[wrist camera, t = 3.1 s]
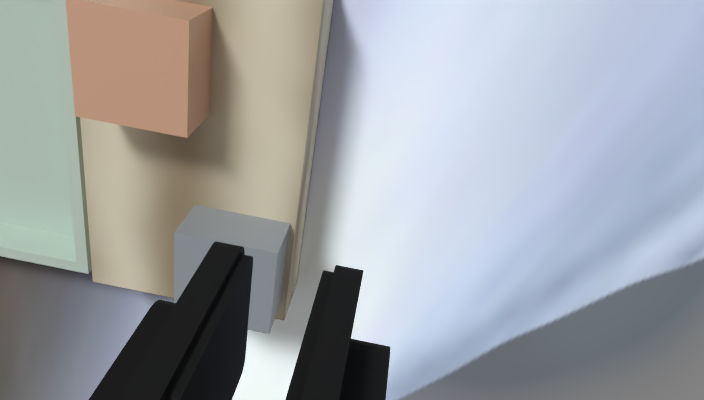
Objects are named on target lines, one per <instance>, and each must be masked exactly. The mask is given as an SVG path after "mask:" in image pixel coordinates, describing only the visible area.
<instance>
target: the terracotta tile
mask: <svg viewBox="0 0 704 400" xmlns="http://www.w3.org/2000/svg"><path fill="white" fill-rule="evenodd" d="M212 11H213V7H208V6H203V5H197V4H192V3H186V2H181V1H175V0H66V12H67V24H68V36H69V49H70V61H71V73H72V85H73V97H74V110H75V116H76V117H81V118H86V119H92V120H97V121H102V122H107V123H112V124H118V125H123V126H128V127H133V128H138V129H144V130H149V131H154V132H159V133H164V134H170V135H175V136H180V137H185V138H188V137H189V135H190V134H191V133H192V132H193V131H194V130H195V129H196V128H197V127H198V126H199V125H200V124H201V123H202V122H203V121H204V120H205V119H206V118H207V117H208V116H209V96H210V68H211V40H212Z"/></svg>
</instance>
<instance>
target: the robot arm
mask: <svg viewBox="0 0 704 400" xmlns="http://www.w3.org/2000/svg"><path fill="white" fill-rule="evenodd" d="M252 270H253V257H252V256H249V255H245V250H244V247H242V246H237V245H232V244H227V243H222V242H217V241H216V242H214V243H213V244H212V246H211V247H210V249H209V251H208V252H207V254H206V255H205V257H204V259H203V260H202V262H201V264H200V265H199V267H198V268H197V270H196V272H195V273H194V275H193V276H192V278H191V280H190V281H189V283H188V285H187V286H186V288H185V289H184V291H183V293H182V294H181V296H180V298H179V299H178V301H177V302H176V303H172V302H167V301H162V300H158V301H156V302H155V303H154V304H153V305H152V306H151V308H150V309H149V311H148V312H147V314H146V315H145V317H144V318H143V320H142V321H141V323H140V324H139V326H138V327H137V329H136V330H135V332H134V333H133V335H132V336H131V337H130V339H129V340H128V342H127V343H126V345H125V346H124V348H123V349H122V351H121V352H120V354H119V355H118V357H117V358H116V360H115V361H114V363H113V364H112V366H111V367H110V369H109V370H108V372H107V373H106V375H105V376H104V378H103V379H102V381H101V382H100V384H99V385H98V387H97V388H96V390H95V391H94V393H93V394H92V396H91V397H90V399H89V400H232V397H233V395H234V392H235V390H236V387H237V385H238V382H239V380H240V377H241V374H242V371H243V367H244V362H245V353H246V341H247V329H248V318H249V306H250V294H251V282H252ZM362 275H363V270H358V269H353V268H348V267H343V266H338V265H336V266H335V270H334V272H329V271H323V273H322V276H321V280H320V283H319V287H318V290H317V294H316V297H315V300H314V304H313V307H312V311H311V314H310V318H309V321H308V324H307V328H306V331H305V335H304V338H303V342H302V345H301V349H300V352H299V355H298V359H297V362H296V366H295V369H294V373H293V376H292V379H291V383H290V386H289V390H288V393H287V397H286V400H385V398H386V388H387V378H388V368H389V357H390V347H388V346H384V345H379V344H374V343H369V342H364V341H359V340H354V339H351V334H352V328H353V323H354V318H355V312H356V307H357V302H358V296H359V291H360V286H361V280H362Z"/></svg>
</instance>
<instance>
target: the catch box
mask: <svg viewBox="0 0 704 400" xmlns="http://www.w3.org/2000/svg"><path fill="white" fill-rule="evenodd" d="M0 256H2V257H7V258H12V259H17V260H22V261H27V262H32V263H37V264H42V265H47V266H52V267H57V268H62V269H66V270H71V271H76V272H81V273H86V274H89V273H90V272H91V270H92V264H91V251H90V238H89V226H88V213H87V200H86V187H85V174H84V161H83V148H82V136H81V123H80V117H76V116H75V110H74V97H73V85H72V73H71V61H70V49H69V36H68V24H67V12H66V0H0Z"/></svg>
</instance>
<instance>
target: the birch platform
mask: <svg viewBox="0 0 704 400" xmlns="http://www.w3.org/2000/svg"><path fill="white" fill-rule="evenodd" d="M175 1H181V2H186V3H192V4H197V5H203V6H208V7H213V11H212V40H211V68H210V96H209V116H208V117H207V118H206V119H205V120H204V121H203V122H202V123H201V124H200V125H199V126H198V127H197V128H196V129H195V130H194V131H193V132H192V133H191V134H190V135H189V137H188V138H185V137H180V136H175V135H170V134H164V133H159V132H154V131H149V130H144V129H138V128H133V127H128V126H123V125H118V124H112V123H107V122H102V121H97V120H92V119H86V118H81V117H80V123H81V136H82V148H83V161H84V174H85V187H86V200H87V213H88V226H89V238H90V251H91V264H92V277H93V282H98V283H103V284H107V285H112V286H117V287H122V288H127V289H132V290H137V291H142V292H147V293H152V294H157V295H162V296H167V297H172V298H174V232H175V231H176V229H177V228H178V227H179V225H180V224H181V223H182V221H183V220H184V219H185V217H186V216H187V215H188V213H189V212H190V211H191V209H192V208H193V207H194V205H200V206H205V207H210V208H215V209H220V210H225V211H230V212H236V213H241V214H246V215H251V216H256V217H261V218H266V219H271V220H276V221H281V222H286V223H291V224H290V232H289V240H288V249H287V257H286V266H285V274H284V283H283V291H282V300H281V303H280V305H279V308H278V311H277V314H276V316H275V319H280V320H284V319H285V316H286V313H287V310H288V307H289V305H290V302H291V299H292V296H293V293H294V290H295V287H296V283H297V276H298V268H299V261H300V253H301V245H302V238H303V230H304V223H305V215H306V207H307V200H308V192H309V184H310V177H311V169H312V162H313V154H314V146H315V139H316V131H317V124H318V116H319V108H320V101H321V93H322V85H323V78H324V70H325V63H326V55H327V47H328V40H329V32H330V25H331V17H332V9H333V2H334V0H175Z"/></svg>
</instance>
